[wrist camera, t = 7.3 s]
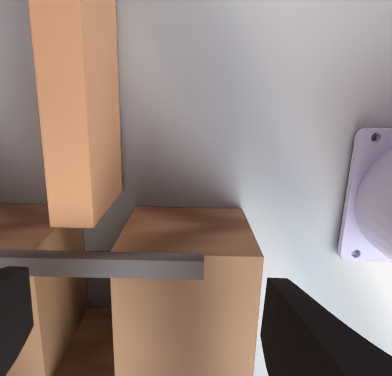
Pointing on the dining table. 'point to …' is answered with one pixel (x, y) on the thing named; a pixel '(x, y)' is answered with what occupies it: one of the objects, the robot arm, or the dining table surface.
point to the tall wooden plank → (78, 107)
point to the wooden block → (139, 294)
